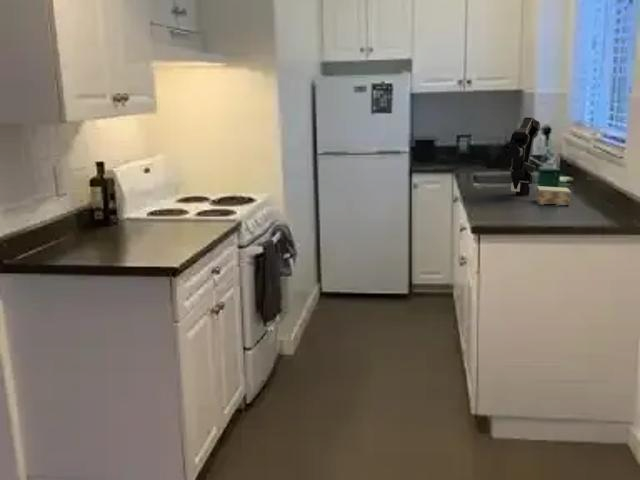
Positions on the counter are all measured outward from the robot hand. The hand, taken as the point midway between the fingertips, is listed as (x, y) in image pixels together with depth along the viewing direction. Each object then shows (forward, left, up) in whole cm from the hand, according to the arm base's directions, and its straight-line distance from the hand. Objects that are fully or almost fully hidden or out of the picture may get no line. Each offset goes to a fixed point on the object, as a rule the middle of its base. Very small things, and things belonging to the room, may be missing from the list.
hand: (515, 188), depth 343 cm
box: (+17, -9, -5) cm, 20 cm away
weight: (0, 0, -1) cm, 1 cm away
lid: (+17, -9, +1) cm, 19 cm away
